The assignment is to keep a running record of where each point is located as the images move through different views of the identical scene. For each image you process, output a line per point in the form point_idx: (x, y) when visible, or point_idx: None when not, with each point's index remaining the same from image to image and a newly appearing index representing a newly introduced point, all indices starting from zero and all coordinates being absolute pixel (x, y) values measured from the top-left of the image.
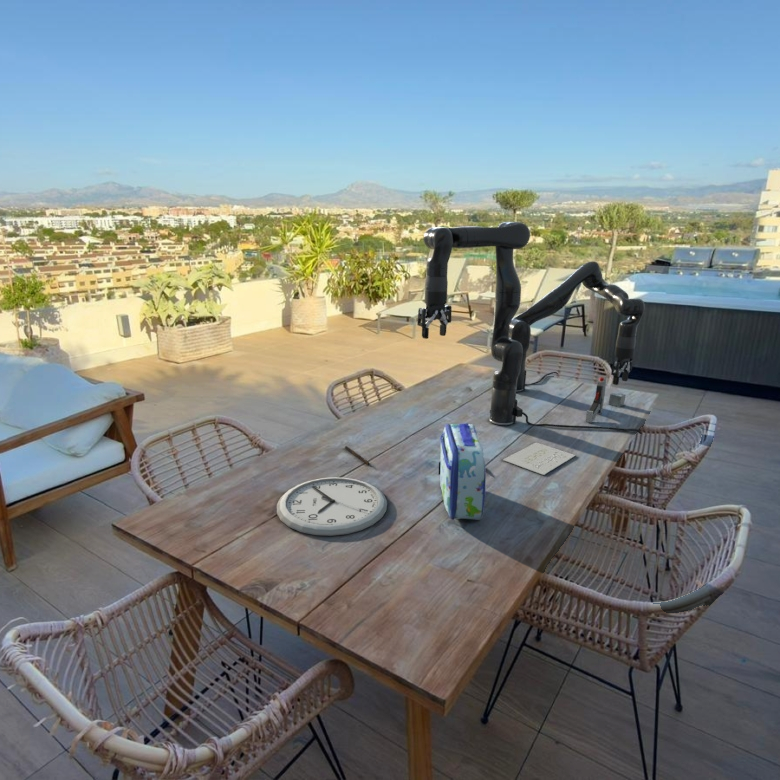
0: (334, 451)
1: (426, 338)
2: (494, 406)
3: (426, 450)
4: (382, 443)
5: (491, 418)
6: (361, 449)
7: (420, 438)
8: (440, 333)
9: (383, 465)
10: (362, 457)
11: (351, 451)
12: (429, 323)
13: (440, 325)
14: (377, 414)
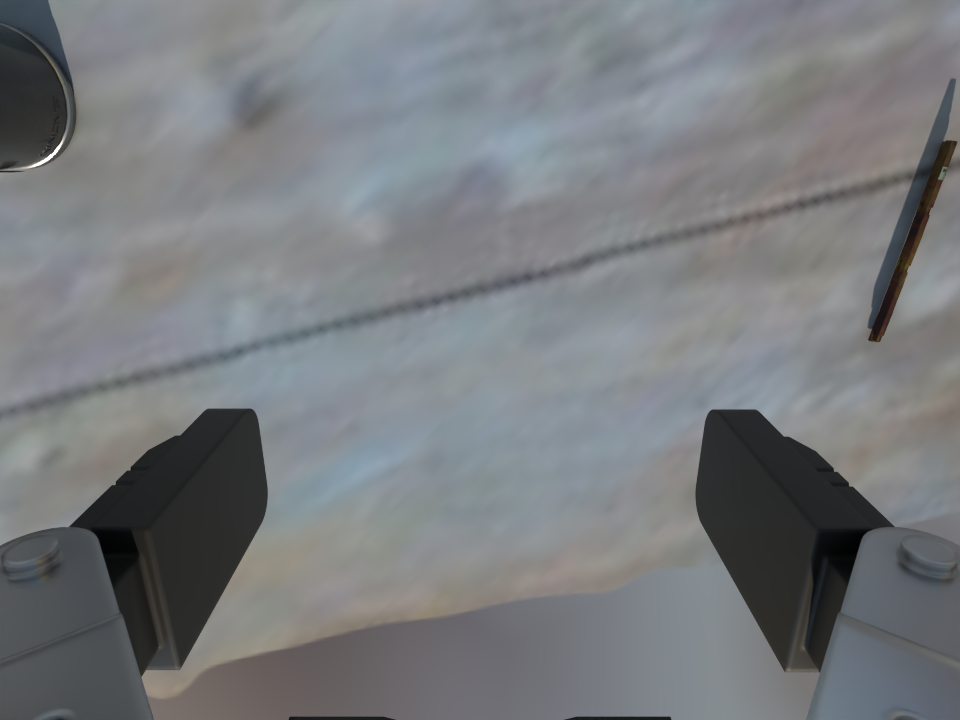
0: (917, 348)
1: (750, 414)
2: (1, 103)
3: (626, 86)
4: (712, 286)
5: (59, 125)
6: (826, 293)
7: (537, 217)
8: (256, 507)
9: (900, 93)
10: (932, 197)
11: (899, 287)
12: (888, 618)
13: (186, 640)
14: (480, 544)
